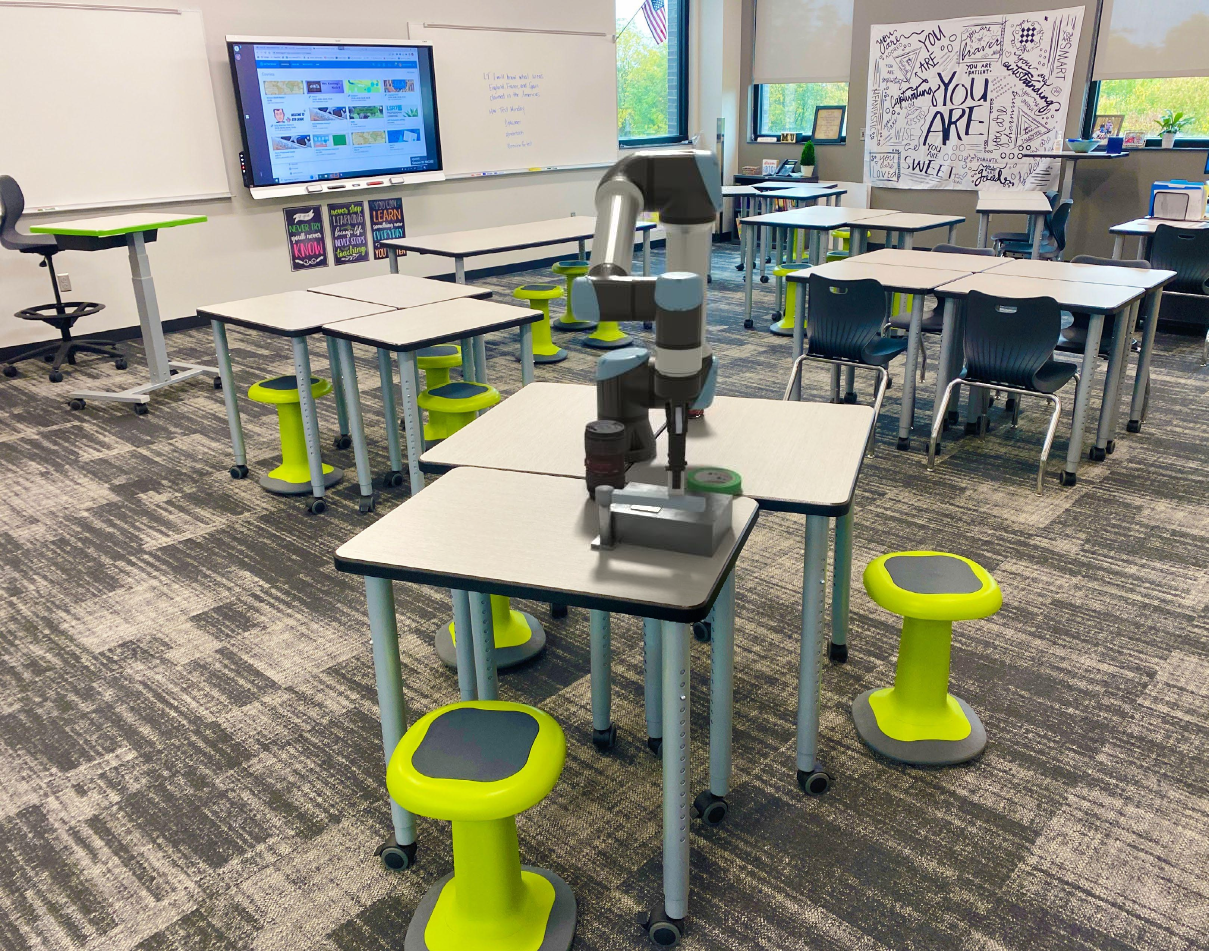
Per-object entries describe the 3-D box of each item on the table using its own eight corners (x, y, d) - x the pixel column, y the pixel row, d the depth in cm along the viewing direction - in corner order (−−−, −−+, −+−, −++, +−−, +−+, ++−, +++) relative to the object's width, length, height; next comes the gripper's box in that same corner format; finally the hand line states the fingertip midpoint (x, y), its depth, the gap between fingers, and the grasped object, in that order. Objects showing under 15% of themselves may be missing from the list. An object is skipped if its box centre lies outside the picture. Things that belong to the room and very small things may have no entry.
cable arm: (593, 504, 153) (593, 491, 152) (598, 497, 156) (598, 484, 155) (702, 515, 148) (702, 501, 147) (705, 507, 151) (706, 494, 150)
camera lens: (597, 507, 173) (595, 434, 167) (579, 494, 179) (576, 423, 174) (633, 499, 176) (633, 428, 171) (614, 486, 183) (613, 417, 177)
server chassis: (590, 547, 156) (589, 505, 153) (625, 510, 171) (625, 471, 168) (706, 566, 149) (707, 522, 146) (731, 525, 164) (733, 485, 161)
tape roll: (748, 483, 184) (749, 471, 183) (729, 502, 174) (730, 490, 174) (699, 475, 188) (699, 463, 187) (678, 493, 179) (678, 481, 178)
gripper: (653, 360, 150) (652, 489, 159) (655, 381, 138) (654, 519, 147) (698, 360, 150) (694, 488, 159) (704, 381, 138) (700, 519, 147)
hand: (675, 503), depth 153 cm, fingers closed
